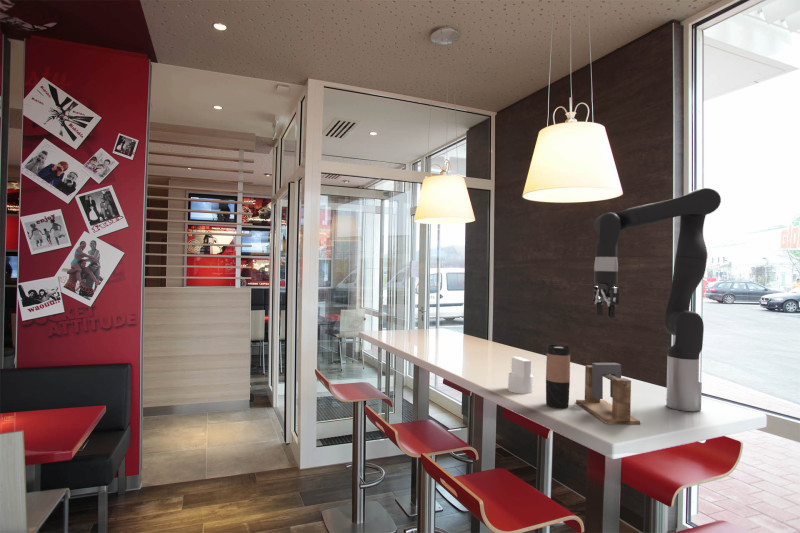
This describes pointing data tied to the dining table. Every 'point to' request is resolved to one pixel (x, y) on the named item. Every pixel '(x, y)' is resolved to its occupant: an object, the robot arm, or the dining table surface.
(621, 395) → the rail
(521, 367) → the cylinder with rectangular tab
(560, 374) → the travel mug
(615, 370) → the grey arch block
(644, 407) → the dining table surface
